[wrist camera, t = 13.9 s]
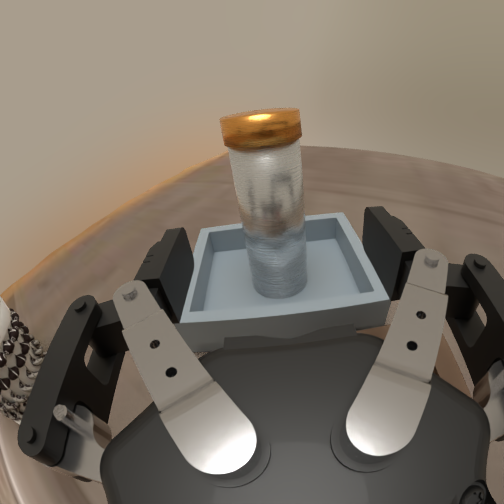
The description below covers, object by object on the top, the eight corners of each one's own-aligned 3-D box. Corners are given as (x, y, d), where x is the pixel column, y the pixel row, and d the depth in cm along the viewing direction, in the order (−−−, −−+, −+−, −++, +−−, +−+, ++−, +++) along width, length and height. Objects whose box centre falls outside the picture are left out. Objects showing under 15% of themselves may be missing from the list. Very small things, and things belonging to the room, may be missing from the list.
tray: (341, 240, 29) (342, 212, 27) (382, 331, 18) (391, 298, 16) (208, 255, 30) (201, 228, 28) (188, 352, 20) (173, 323, 18)
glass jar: (304, 259, 26) (292, 106, 18) (314, 296, 21) (306, 112, 14) (250, 265, 26) (223, 115, 18) (250, 303, 22) (214, 123, 14)
